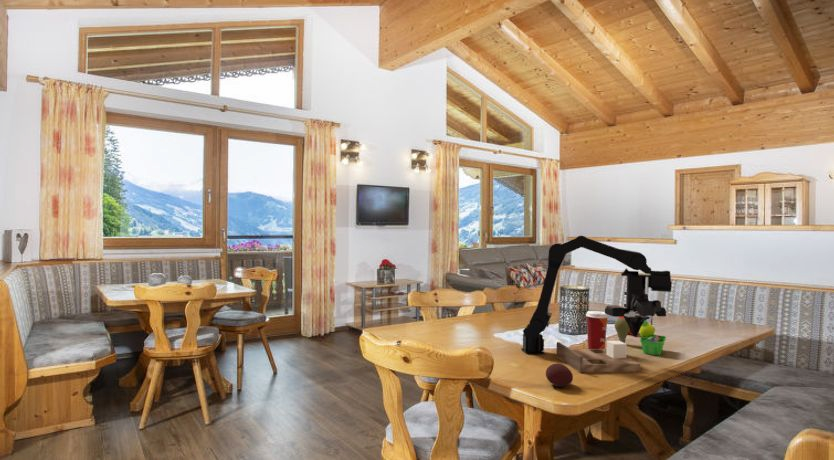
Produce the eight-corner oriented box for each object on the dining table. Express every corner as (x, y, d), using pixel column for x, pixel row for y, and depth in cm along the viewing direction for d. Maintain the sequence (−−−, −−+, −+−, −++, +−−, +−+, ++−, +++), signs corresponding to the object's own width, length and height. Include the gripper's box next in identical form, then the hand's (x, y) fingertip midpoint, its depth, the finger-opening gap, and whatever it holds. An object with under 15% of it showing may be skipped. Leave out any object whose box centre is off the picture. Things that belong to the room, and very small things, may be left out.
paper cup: (609, 354, 171) (610, 314, 171) (586, 352, 173) (587, 313, 173) (605, 348, 179) (606, 311, 179) (583, 347, 180) (584, 310, 180)
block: (613, 358, 158) (613, 344, 158) (606, 354, 162) (606, 340, 162) (626, 357, 158) (626, 344, 158) (619, 354, 163) (619, 340, 163)
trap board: (579, 372, 149) (580, 356, 149) (556, 356, 167) (556, 342, 167) (640, 371, 152) (640, 355, 152) (610, 355, 170) (610, 341, 170)
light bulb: (614, 344, 185) (614, 318, 185) (614, 341, 190) (614, 316, 190) (630, 346, 183) (630, 320, 183) (629, 343, 188) (630, 317, 188)
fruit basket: (663, 357, 169) (663, 324, 169) (635, 353, 174) (636, 321, 174) (666, 350, 179) (666, 319, 179) (640, 346, 183) (640, 316, 183)
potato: (543, 388, 135) (544, 366, 135) (547, 378, 143) (547, 358, 143) (571, 392, 132) (572, 370, 132) (573, 382, 141) (574, 361, 140)
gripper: (622, 293, 152) (621, 343, 152) (677, 293, 154) (676, 342, 154) (604, 288, 163) (603, 334, 163) (656, 288, 165) (655, 334, 165)
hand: (634, 336), depth 161 cm, fingers closed
